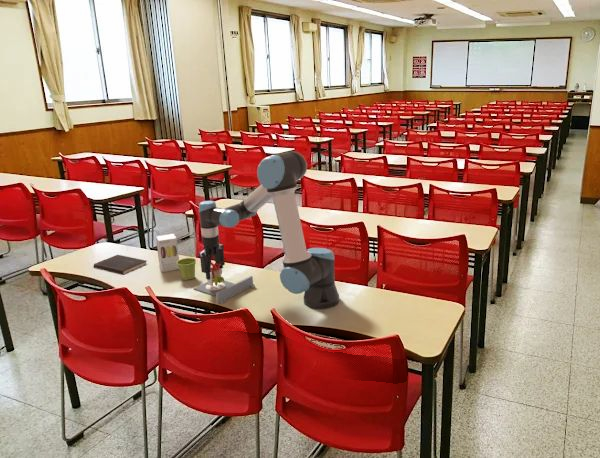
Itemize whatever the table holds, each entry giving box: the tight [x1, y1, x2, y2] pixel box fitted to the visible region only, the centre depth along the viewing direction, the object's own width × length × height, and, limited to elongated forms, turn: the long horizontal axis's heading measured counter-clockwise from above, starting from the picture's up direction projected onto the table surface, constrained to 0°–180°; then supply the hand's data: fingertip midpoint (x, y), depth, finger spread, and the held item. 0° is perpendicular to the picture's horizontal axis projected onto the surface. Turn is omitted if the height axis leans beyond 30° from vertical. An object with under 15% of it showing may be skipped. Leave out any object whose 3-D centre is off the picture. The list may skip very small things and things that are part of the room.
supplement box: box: [155, 233, 180, 273], centre depth 251 cm, size 10×9×17 cm
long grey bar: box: [215, 275, 255, 304], centre depth 219 cm, size 4×22×4 cm, turn 143°
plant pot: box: [177, 257, 197, 281], centre depth 238 cm, size 9×9×9 cm
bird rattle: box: [210, 261, 226, 286], centre depth 225 cm, size 6×11×9 cm
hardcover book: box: [93, 254, 147, 275], centre depth 259 cm, size 16×23×2 cm
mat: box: [193, 280, 235, 297], centre depth 227 cm, size 14×14×1 cm
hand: (214, 283), depth 226 cm, fingers closed on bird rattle, 5 cm apart
